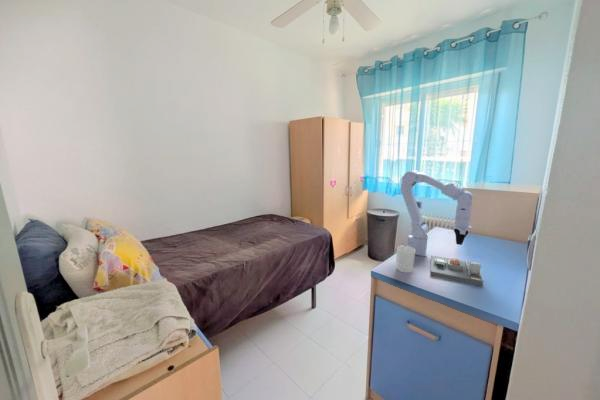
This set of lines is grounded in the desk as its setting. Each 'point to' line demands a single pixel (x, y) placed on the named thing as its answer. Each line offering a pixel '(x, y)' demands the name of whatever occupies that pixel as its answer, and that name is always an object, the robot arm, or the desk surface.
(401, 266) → the white cup
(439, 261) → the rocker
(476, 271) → the grey boxy piece
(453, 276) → the panel
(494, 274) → the desk surface
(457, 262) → the push button
